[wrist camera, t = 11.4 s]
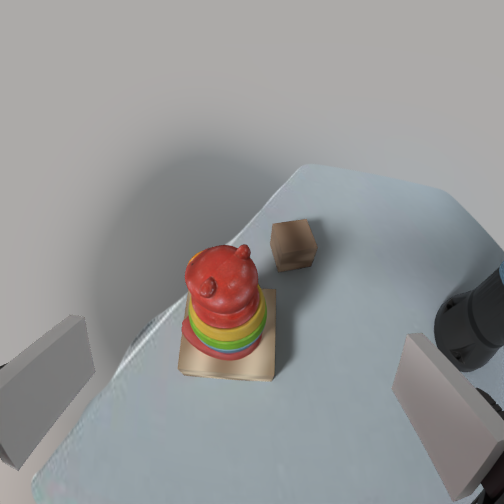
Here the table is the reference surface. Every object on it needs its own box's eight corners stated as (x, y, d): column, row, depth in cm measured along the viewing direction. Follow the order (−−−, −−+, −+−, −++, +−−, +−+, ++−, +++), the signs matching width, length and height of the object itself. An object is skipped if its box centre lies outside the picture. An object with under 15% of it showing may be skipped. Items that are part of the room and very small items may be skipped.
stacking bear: (231, 281, 46) (226, 199, 31) (281, 327, 42) (302, 260, 28) (176, 328, 42) (139, 262, 27) (225, 379, 38) (212, 342, 23)
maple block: (273, 302, 50) (275, 289, 46) (271, 381, 43) (274, 375, 39) (193, 298, 50) (189, 284, 46) (184, 375, 43) (177, 368, 39)
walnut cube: (301, 239, 57) (306, 218, 52) (310, 266, 54) (317, 247, 49) (270, 244, 56) (272, 223, 51) (278, 272, 53) (282, 253, 48)
